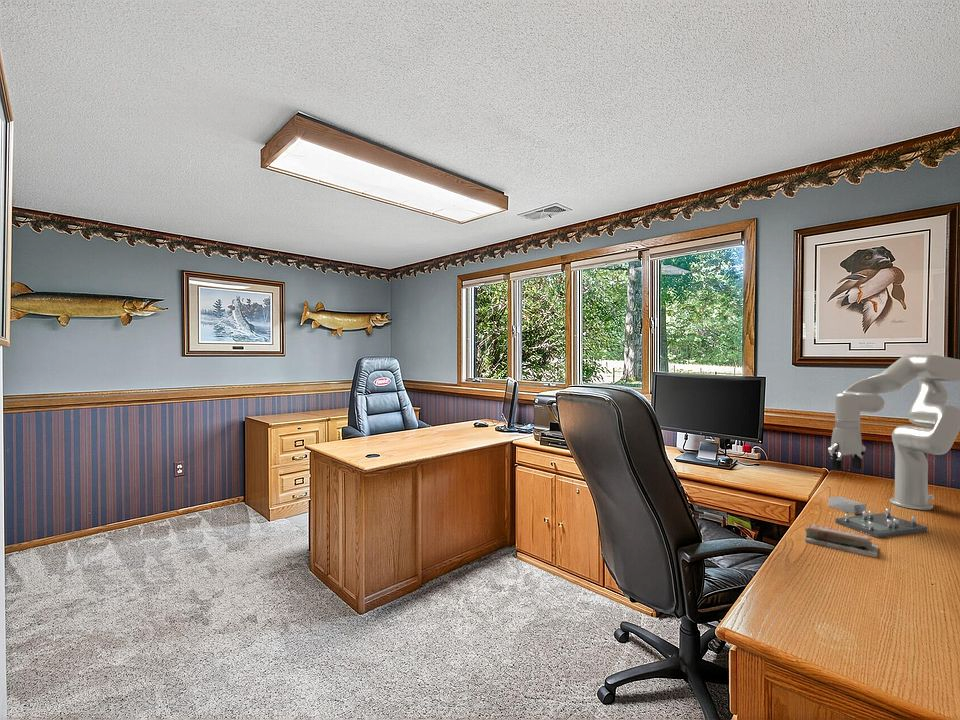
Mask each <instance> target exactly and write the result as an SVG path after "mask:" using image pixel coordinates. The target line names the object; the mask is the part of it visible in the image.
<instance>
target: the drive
mask: <svg viewBox="0 0 960 720" xmlns="http://www.w3.org/2000/svg"><path fill="white" fill-rule="evenodd" d="M829 506H831V507H830V508H832V507H834V508H833V509H835V508H837V509H836V510H838V509H839V510H838V511H840V510H842V511H841V512H843V511H845V512H844V513H846V512H848V513H847V514H849V513H851V514H850V515H852V514H854V515H853V516H857V515H856V514H862V515H863V511H864V512H867V504H866V503H863V502H860V501H857V500H854V499H851V498H847V497H845V496H841V495H838V496H837V495H836V496H829V497H828V507H829Z"/></svg>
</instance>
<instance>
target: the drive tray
mask: <svg viewBox="0 0 960 720" xmlns="http://www.w3.org/2000/svg"><path fill="white" fill-rule="evenodd" d="M891 514H892V513H891V508H886V509H885V513H884V512H878V513H874V511H873V510H868V512H867V511H866V512H864V511H863V514H862V515H852V516H850V514H849V513H844V517H837V518H835V519H834V520H835V522H834V523H836V524H839V525H841V526H843V525H844V527H846V526H847V527H846V528H849V529H852V530H854V529H855V531H857V530H858V532H860V531H862V532H861V533H863V532H864V533H863V534H865V533H867V534H866V535H868V534H870V535H869V536H871V535H872V536H871V537H873V536H875V537H874V538H876V537H877V539H880V538H879V537H881V538H887V536H889V537H895V536H894V535H896V536H901V535H900V534H904V535H910V533H911V534H916V533H917V534H918V532H919V533H925V532H928V526H924V525H922V524H918V523H917V517H916V516H913V515H912V516H911V517H910V518H911V521H908V520H905V519H903V518H900V517H896V516H894V515H891Z"/></svg>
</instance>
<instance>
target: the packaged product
mask: <svg viewBox="0 0 960 720" xmlns="http://www.w3.org/2000/svg"><path fill="white" fill-rule="evenodd" d="M805 533H806V534H805V537H804V542H805V543H809V544H813V545H818V544H819V545H818V546H822V545H823V546H822V547H827V548H832V549H835V550H840V551H844V552H847V553H853V554H857V555H862V556H865V557H866V556H867V557H870V556H871V557H872V558H875V557H878V554H879V553H878V552H879V547H878V546H879V545H878V544H873V542H872V536H870V535H867V534H866V535H865V534H861V533H858V532H857V533H856V532H852V531H847V530H843V529H838V528H834V527H830V526H825V525H821V524H814V523H809V524H808V525H807V526H806V529H805Z"/></svg>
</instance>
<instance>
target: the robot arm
mask: <svg viewBox="0 0 960 720" xmlns="http://www.w3.org/2000/svg"><path fill="white" fill-rule="evenodd" d="M914 379H916V381H917V382H918V386H919V387H918V389H919V390H918V393H917V396H916V398H915V399H914V401H913V404H912V405H911V407H910V409H909V411H908V414H907V419H908V421H909V423H911V424H913V425H907V424H906V425H899V426H897V427H895V428H894V429H893V431H892V433H891V440H892V444H893V448H894V497H890V498H889V502H890V503H891V504H893V505H895V506H898V507H902V508H906V509H911V510H912V509H913V510H919V511H929V510H931V511H932V510H933V509H934V505H933V504H932V503H930V502H929V500H930V501H931V500H935V498H936V497H935V495H934V494H928V488H929V487H928V486H929V485H928V482H929V477H928V475H929V471H928V470H929V464H928V463H929V461H928V459H927V457H926V455H925V454H931V455H937V456H940V455H945V454H947V453H948V452H949V451H950V450H951V448H952V446H953V445H954V442H955V441H956V439H957V437H958V436H959V433H960V408H959V407H957V406H955V405H950V404H946V403H947V401H948V398H949V393H948V391H947V389H946V387H945V385H943V383H942V382H952V383H953V382H955V383H957V382H960V359H957V358H953V357H948V356H943V355H939V354H938V355H937V354H906V355H903V356H901V357H900V358H899V359H897V360H895V362H893V363H892V364H891V365H889V366H888V367H887V368H885V369H884V370H883V371H881V372H880V373H878V374H875V375H873V376H870V377H867V378H863V379H861V380H859V381H856V382H855V383H853V384H851V385H850V386H848V387H847V388H846V389H845V390H844V391H842V392H840V393H839V392H838V393H836V394H835V401H834V402H835V405H834V406H835V408H834V409H835V410H834V414H835V415H834V427H833V429H832V434H831V439H830V440H831V441H830V446H829V447H828V448H827V450H828V454H829V456H830V459H832V460H831V468H832V470H835V471H839V472H841V471H842V469H843V467H842V465H843V464H842V463H843V461H842V460H841V459H842V458H843V456H851V455H852V457H851V468H853V469H856V470H862V462H863V461H862V460H863V458H864V455H865V452H866V449H867V447H866V446H865V445H863V443H862V442H863V441H862V440H863V439H862V432H861V412H863V413H868V414H869V413H871V414H872V413H878V412H880V411H882V409H884V407H885V405H886V404H885V400H884V398H883V397H882V396H881V395H879V394H887V393H889V394H890V393H894V392H899V391H901V390H902V389H904V388H905V386H907V385H908V384H910V383H911V381H913V380H914Z"/></svg>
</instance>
